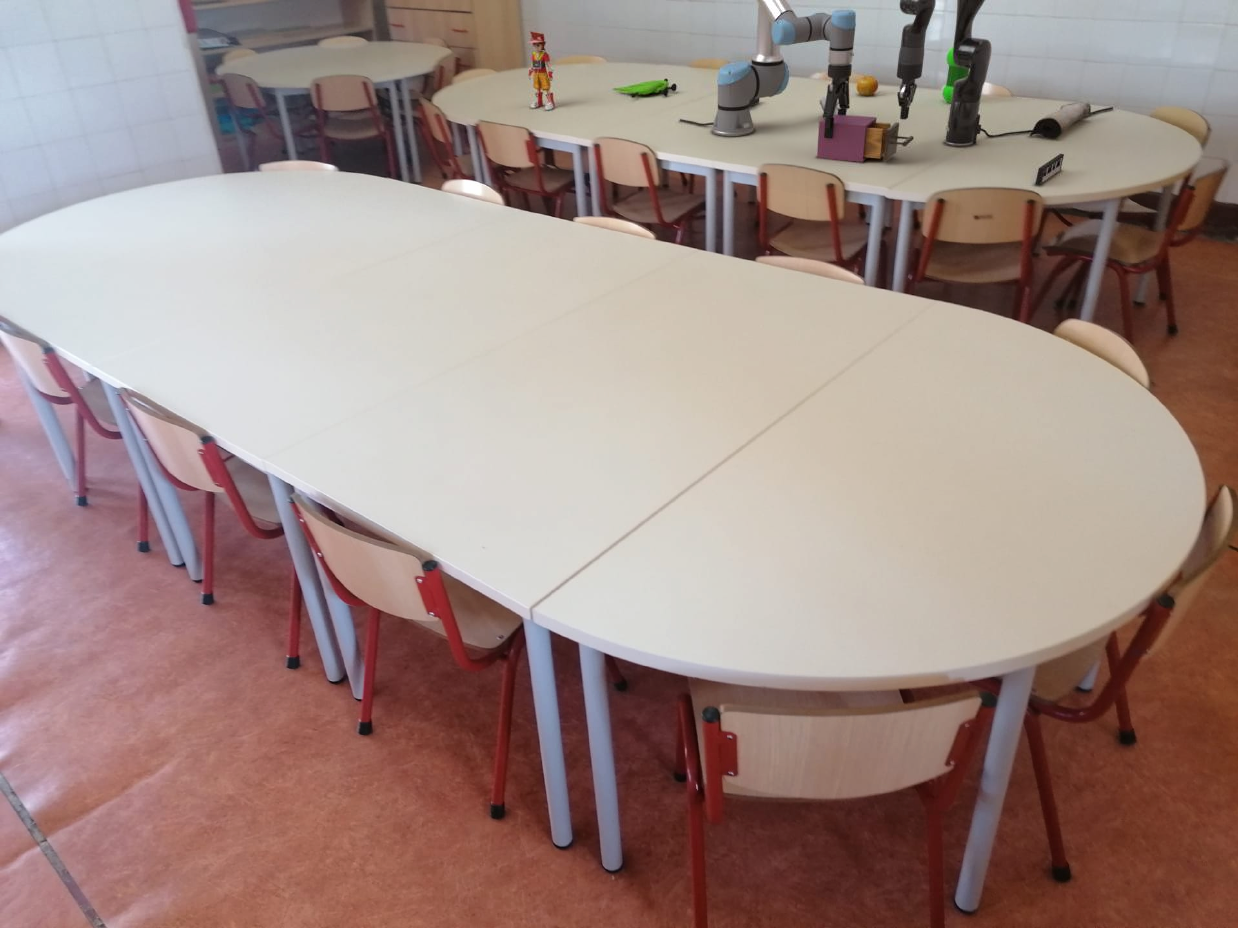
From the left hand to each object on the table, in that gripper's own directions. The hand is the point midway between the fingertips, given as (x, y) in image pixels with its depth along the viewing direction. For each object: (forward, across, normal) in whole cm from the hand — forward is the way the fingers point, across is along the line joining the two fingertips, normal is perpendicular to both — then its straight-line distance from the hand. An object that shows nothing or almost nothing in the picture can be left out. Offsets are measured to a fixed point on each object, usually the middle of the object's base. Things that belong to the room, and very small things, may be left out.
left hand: (834, 133), depth 302 cm
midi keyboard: (+7, 0, -69) cm, 69 cm away
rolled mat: (+7, +58, -62) cm, 85 cm away
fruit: (+7, +84, +17) cm, 86 cm away
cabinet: (+7, 0, -4) cm, 8 cm away
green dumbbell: (+7, +84, -19) cm, 86 cm away
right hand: (-6, 0, -23) cm, 24 cm away
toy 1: (+6, +21, +137) cm, 139 cm away
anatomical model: (+7, +44, +16) cm, 48 cm away
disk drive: (+7, +50, +58) cm, 77 cm away
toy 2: (+7, +59, +111) cm, 126 cm away
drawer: (+6, 0, -16) cm, 17 cm away
